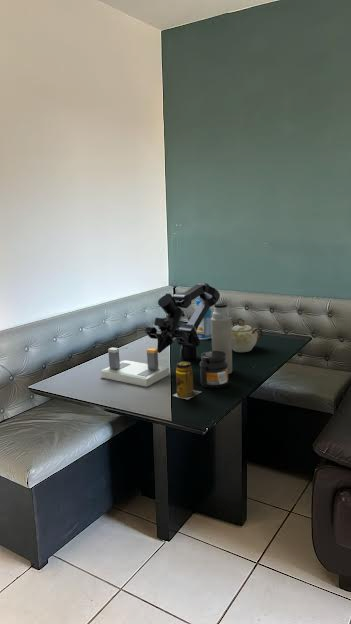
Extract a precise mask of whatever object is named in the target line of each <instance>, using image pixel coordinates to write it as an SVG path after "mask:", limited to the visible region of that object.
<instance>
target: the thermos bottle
mask: <svg viewBox="0 0 351 624" xmlns="http://www.w3.org/2000/svg"><path fill="white" fill-rule="evenodd" d="M213 306H214V311H213V312H212V314H211V316H212V318H211V335H212V337H211V351H222V352H224V353H226V361H227V362H228V375H229V374H232V372H233V349H232V338H231V328H232V317H231V316H230V312H229V311H228V308H227V307H228V304H227V303H216V304H215V305H213Z"/></svg>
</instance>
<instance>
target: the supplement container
mask: <svg viewBox="0 0 351 624" xmlns="http://www.w3.org/2000/svg"><path fill="white" fill-rule="evenodd" d="M200 359H201V361H200V362H199V368H200V369H199V371H200V384H201V385H202V386H203V387H204V388H206V389H213V390H217V389H221V388H224V387H226V386H227V385H228V384H229V374H228V362H227V361H226V353H224V352H222V351H212V350H207V351H204V352H202V353H201V354H200Z"/></svg>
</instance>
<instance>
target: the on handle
mask: <svg viewBox="0 0 351 624" xmlns="http://www.w3.org/2000/svg"><path fill="white" fill-rule="evenodd" d="M107 350H108V351H107V352H108V361H109V363H108V364H109V365H108V367H110V368H112V369H118V368H120V362H121V361H120V348H118V347H110V348H108V349H107Z"/></svg>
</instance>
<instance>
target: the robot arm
mask: <svg viewBox="0 0 351 624" xmlns="http://www.w3.org/2000/svg"><path fill="white" fill-rule="evenodd" d="M220 296H221V295H220V292H219V291H218V290H217V289H216V288H215V287H213V286H211V285H210V284H209V283H206V282H198V283H196V285H194V286H192V287H191V288H189V289H187V290H186V291H183V292H177V293H175V294H173V295H172V294H171V293H165V295H162V296H161V297H160V298H159V299H158V301H157V303H158V306H159V307H160V308H161V311H163V312H164V314H166V317H155V318H154V326H156V327H157V328H156V327H154V326H148V325H147V326H146V327H145V329H144V333H145V334H146V335H147V337H149V338H150V339H153V340H154V339H155V340H157V347H156V349H158V354H160V353H162V352H163V351H164V350H165V349H166V348H168V347H169V346H171V345H172V344H175V340H176V342H177V344H178V346H181V347H180V358H181V359H182V361H195V360H198V355H197V347H199V346H200V344H201V339H199V338H198V337H197V328H198V326H199V325H200V323H201V321H202V320H203V318H204V316H205V314H206V313H207V311H208V309H209V308H210V309H211V308H212V307H213V306H214V305H215V304H218V301H219V300H220V298H221V297H220ZM198 297H199V298H200V303H199V305H198V306H196V308H195V310H194V312H193V313H192V314H191V316H190V318H189V320H188V322H187V323H181V324H180V321H181V319H182V317H183V318H184V317H186V315H185V312H184V310H182V309H188V308H189V307H190V306H191V305H192V301H194V300H195V299H198ZM179 324H180V325H179Z"/></svg>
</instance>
